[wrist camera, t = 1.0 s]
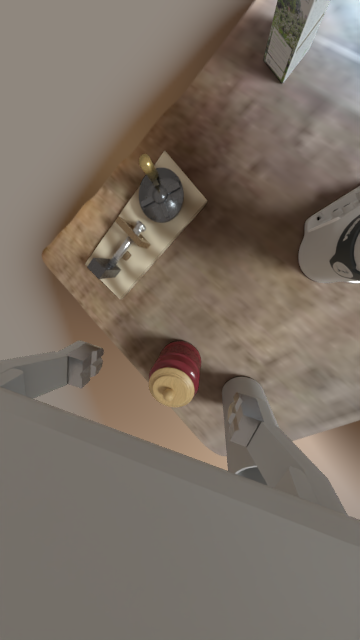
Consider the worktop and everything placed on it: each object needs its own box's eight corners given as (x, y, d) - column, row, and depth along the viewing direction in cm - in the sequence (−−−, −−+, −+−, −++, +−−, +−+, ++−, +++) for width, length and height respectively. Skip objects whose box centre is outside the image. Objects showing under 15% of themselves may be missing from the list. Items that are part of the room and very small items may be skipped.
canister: (170, 332, 52) (151, 363, 35) (208, 351, 51) (207, 392, 35) (155, 364, 56) (132, 405, 39) (190, 382, 56) (181, 430, 39)
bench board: (166, 154, 38) (161, 141, 34) (207, 202, 40) (206, 195, 36) (88, 264, 50) (77, 263, 46) (122, 298, 51) (115, 301, 47)
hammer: (140, 219, 42) (126, 210, 35) (151, 231, 42) (140, 225, 35) (103, 269, 47) (84, 269, 41) (113, 279, 48) (97, 281, 41)
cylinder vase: (219, 376, 53) (226, 462, 30) (262, 374, 50) (306, 468, 27) (223, 408, 56) (232, 508, 33) (263, 408, 54) (304, 518, 30)
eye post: (130, 222, 43) (118, 216, 37) (150, 244, 43) (142, 241, 38) (127, 226, 43) (114, 221, 38) (147, 248, 44) (138, 246, 38)
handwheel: (161, 158, 35) (151, 137, 29) (193, 195, 36) (190, 182, 30) (131, 199, 38) (118, 187, 33) (162, 233, 39) (154, 227, 34)
